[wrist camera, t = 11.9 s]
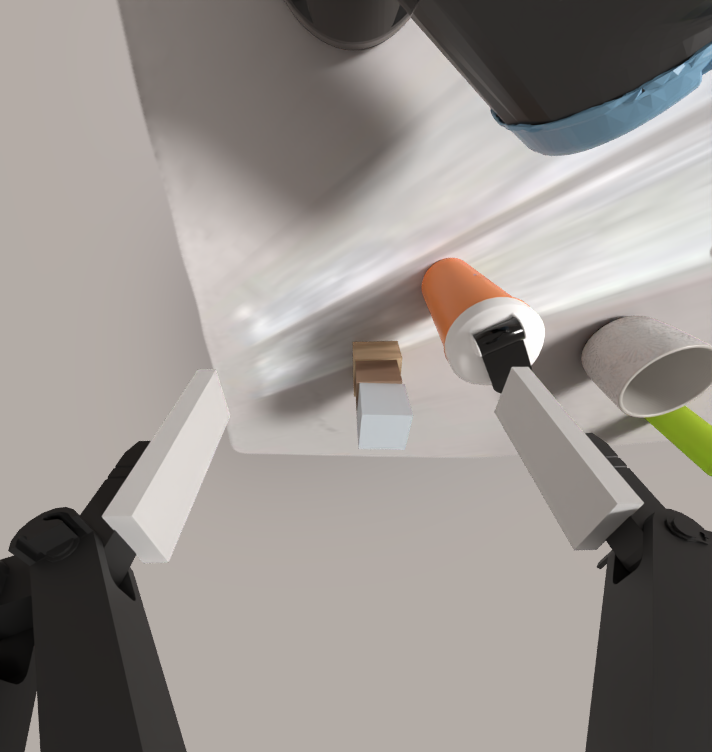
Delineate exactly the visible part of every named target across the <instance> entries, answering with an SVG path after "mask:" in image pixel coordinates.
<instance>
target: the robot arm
mask: <svg viewBox="0 0 712 752" xmlns="http://www.w3.org/2000/svg"><path fill="white" fill-rule="evenodd" d="M285 2H286V4H287V5H288V7H289V8H290V10H291V11H292V13H293V14H294V15H295V17H296V18H297V19H298V20H299V21H300V23H301V24H302V25H303V26H304V27H305V28H306V29H307V30H308V31H310V32H311V33H312V34H313V35H314V36H316V37H317V38H319V39H320V40H322V41H324V42H325V43H327V44H329V45H332V46H334V47H338V48H342V49H348V50H360V49H366V48H370V47H373V46H376V45H378V44H380V43H382V42H384V41H385V40H387V39H388V38H390V37H391V36H393V35H394V34H395V33H396V32H397V31H399V30H400V29H401V28H402V27H403V26H404V25H405V23H406V22H407V21H408V20H409V19H410V17H411V18H412V19H413V21H414V22H415V23H416V24H417V25H418V26H419V27H420V28H421V30H422V31H423V32H424V33H425V34H426V35H427V36H428V37H429V39H430V40H431V41H432V42H433V43H434V44H435V45H436V47H437V48H438V49H439V50H440V51H441V52H442V53H443V54H444V56H445V57H446V58H447V59H448V60H449V61H450V62H451V63H452V65H453V66H454V67H455V68H456V69H457V70H458V71H459V73H460V74H461V75H462V76H463V77H464V78H465V79H466V80H467V82H468V83H469V84H470V85H471V86H472V87H473V88H474V89H475V91H476V92H477V93H478V94H479V95H480V96H481V97H482V99H483V100H484V101H485V102H486V103H487V104H488V105H489V106H490V108H491V114H492V116H493V117H494V119H495V120H496V121H497V123H498V124H499V125H501V126H504V127H505V128H506V129H508V130H511V131H512V132H513V133H514V134H515V135H516V136H517V137H518V138H519V139H520V140H521V141H522V142H523V143H524V144H525V145H526V146H527V147H528V148H529V149H531V150H533V151H536V152H538V153H541V154H543V155H549V156H561V155H569V154H574V153H579V152H582V151H586V150H589V149H592V148H594V147H597V146H600V145H602V144H604V143H607V142H609V141H611V140H614V139H616V138H618V137H620V136H622V135H624V134H626V133H628V132H630V131H632V130H634V129H636V128H637V127H639V126H641V125H643V124H644V123H646V122H648V121H649V120H651V119H653V118H654V117H656V116H658V115H659V114H661V113H662V112H664V111H665V110H667V109H668V108H670V107H671V106H673V105H674V104H676V103H677V102H679V101H680V100H681V99H683V98H684V97H685V96H687V95H688V94H689V93H691V92H692V91H693V90H695V89H696V88H698V86H699V85H700V83H701V81H702V75H703V74H705V73H707V72H708V71H710V70H712V0H285ZM495 414H496V416H497V417H498V419H499V421H500V422H501V424H502V426H503V428H504V429H505V431H506V433H507V435H508V436H509V438H510V440H511V442H512V443H513V445H514V447H515V449H516V450H517V452H518V454H519V455H520V457H521V459H522V461H523V462H524V464H525V466H526V468H527V469H528V471H529V473H530V474H531V476H532V478H533V480H534V482H535V483H536V485H537V487H538V488H539V490H540V492H541V494H542V495H543V497H544V499H545V501H546V502H547V504H548V505H549V507H550V509H551V511H552V513H553V515H554V516H555V518H556V519H557V521H558V523H559V525H560V527H561V528H562V530H563V532H564V534H565V535H566V537H567V539H568V541H569V542H570V544H571V546H572V547H573V549H574V550H596V549H598V548H599V547H600V546H601V545H602V543H604V542H605V541H607V542H608V544H609V545H610V547H611V548H612V551H611V552H610V553H609V554H608V555H606V556H605V557H604V558H603V559H602V560H601V561H600V562H599V563H598V565H597V568H599V569H601V568H603V567H604V566H605V565H606V564H607V570H606V578H605V588H604V596H603V605H602V613H601V622H600V630H599V640H598V647H597V648H598V649H597V657H596V665H595V673H594V683H593V691H592V700H591V708H590V717H589V725H588V734H587V742H586V751H585V752H712V532H710V531H706V530H704V528H702V527H701V526H700V525H699V524H698V523H697V522H695V521H694V520H693V519H691V518H689V517H688V516H686V515H684V514H682V513H680V512H677V511H674V510H672V509H666V508H665V507H664V506H663V505H662V504H661V503H660V502H659V501H658V500H657V499H656V498H655V497H654V495H653V494H652V493H651V492H650V491H649V490H648V489H647V488H646V486H645V485H644V484H643V483H642V482H641V481H640V480H639V479H638V478H637V476H636V475H635V474H634V473H633V472H632V471H631V470H630V469H629V468H627V465H626V464H625V463H624V462H623V461H622V460H621V459H620V458H618V455H617V454H616V453H615V452H614V451H613V450H612V449H611V448H610V446H609V445H608V444H607V443H605V442H604V441H603V440H601V439H600V438H598V437H597V436H596V435H594V434H593V433H584V432H583V431H582V429H581V428H580V427H579V426H578V425H577V424H576V422H575V421H574V420H573V419H572V418H571V416H570V415H569V414H568V413H567V412H566V411H565V409H564V408H563V407H562V406H561V405H560V404H559V402H558V401H557V400H556V399H555V398H554V396H553V395H552V394H551V393H550V392H549V391H548V389H547V388H546V387H545V386H544V385H543V384H542V382H541V381H540V380H539V379H538V378H537V376H536V375H535V374H534V373H533V372H532V371H531V369H530V368H529V367H512V368H511V370H510V373H509V375H508V378H507V381H506V383H505V386H504V388H503V391H502V394H501V396H500V399H499V401H498V404H497V407H496V409H495ZM229 417H230V413H229V409H228V406H227V403H226V400H225V397H224V394H223V390H222V387H221V384H220V381H219V378H218V374H217V371H216V369H198V370H197V372H196V373H195V375H194V376H193V378H192V379H191V381H190V382H189V384H188V385H187V387H186V388H185V390H184V391H183V393H182V394H181V396H180V398H179V399H178V401H177V402H176V404H175V405H174V407H173V408H172V410H171V411H170V413H169V414H168V416H167V418H166V419H165V420H164V422H163V423H162V425H161V427H160V428H159V430H158V431H157V433H156V434H155V436H154V437H153V439H152V440H151V441H139V442H137V443H136V444H135V445H134V446H132V447H131V448H130V449H129V450H128V451H126V452H125V453H124V455H123V456H122V458H121V459H120V460H119V462H118V463H117V465H116V468H114V469H113V470H112V472H111V473H110V474H109V476H108V479H107V480H105V481H104V483H103V484H102V485H101V487H100V488H99V490H98V491H97V493H96V494H95V495H94V497H93V498H92V500H91V501H90V502H89V504H88V505H87V506H86V508H85V509H84V511H83V512H82V513H81V515H79V514H78V513H77V512H76V511H75V510H74V509H71V508H67V507H63V508H55V509H52V510H50V511H47V512H44V513H42V514H40V515H39V516H37V517H35V518H34V519H32V520H31V521H29V522H28V523H27V524H26V525H25V526H23V527H22V528H21V529H20V530H19V531H18V532H17V534H16V535H15V536H14V538H13V539H12V541H11V543H10V547H9V550H8V551H9V552H11V553H12V554H13V555H14V556H11V557H8V558H5V559H2V560H0V752H24V751H25V746H26V741H27V736H28V731H29V726H30V722H31V717H32V712H33V707H34V701H35V697H36V692H37V696H38V697H37V698H38V715H39V733H40V749H41V750H40V751H41V752H187V751H186V748H185V745H184V741H183V738H182V735H181V731H180V728H179V725H178V721H177V718H176V714H175V711H174V708H173V705H172V701H171V698H170V694H169V691H168V687H167V684H166V681H165V677H164V674H163V671H162V667H161V664H160V661H159V657H158V654H157V650H156V647H155V644H154V640H153V637H152V634H151V630H150V627H149V624H148V621H147V617H146V614H145V611H144V607H143V603H142V600H141V597H140V593H139V590H138V587H137V583H136V580H135V577H134V573H133V571H132V570H131V568H130V566H131V564H132V562H133V560H134V558H135V556H137V557H138V558H139V559H140V560H141V561H142V562H143V563H168V562H169V560H170V558H171V555H172V553H173V550H174V548H175V546H176V543H177V541H178V539H179V536H180V534H181V531H182V529H183V527H184V524H185V522H186V520H187V517H188V515H189V512H190V510H191V507H192V505H193V503H194V500H195V498H196V496H197V493H198V491H199V489H200V486H201V484H202V481H203V479H204V477H205V474H206V472H207V470H208V467H209V465H210V463H211V460H212V458H213V455H214V453H215V451H216V448H217V446H218V443H219V441H220V439H221V436H222V434H223V432H224V429H225V427H226V425H227V422H228V420H229Z"/></svg>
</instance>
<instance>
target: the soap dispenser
mask: <svg viewBox="0 0 712 752" xmlns="http://www.w3.org/2000/svg"><path fill="white" fill-rule="evenodd" d="M644 418H645V419H646V420H647V421H648V422H649V423H650V424H652V425H653V426H654V427H655V428H656V429H657V430H658V431H659V432H661V433H662V434H663V435H664V436H665V437H666V438H667V439H668V440H669V441H671V442H672V443H673V444H674V445H675V446H676V447H677V448H678V449H680V450H681V451H682V452H683V453H684V454H685V455H686V456H687V457H689V458H690V459H691V460H692V461H693V462H694V463H695V464H697V465H698V466H699V467H700V468H701V469H702V470H703V471H704V472H705V473H707V474H708V475H709V476H712V426H711V425H710V424H708V423H707V422H706V421H704V420H703V419H702V418H700V417H699V416H698V415H696V414H695V413H694V412H693V411H691V410H690V409H689V408H687V407H686V406H683V407H681V408H679V409H676V410H674V411H672V412H669V413H666V414H662V415H659V416H654V417H644Z"/></svg>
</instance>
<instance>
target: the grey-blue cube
mask: <svg viewBox="0 0 712 752" xmlns="http://www.w3.org/2000/svg"><path fill="white" fill-rule="evenodd" d="M412 419H413V413H412V409H411V405H410V402H409V398H408V394H407V390H406V387H405V384H387V383H360V385H359V396H358V407H357V432H358V449H394V450H405V448H406V444H407V439H408V435H409V431H410V427H411V423H412Z"/></svg>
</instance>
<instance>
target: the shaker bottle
mask: <svg viewBox="0 0 712 752" xmlns="http://www.w3.org/2000/svg"><path fill="white" fill-rule="evenodd" d="M421 287H422V294H423V297H424V299H425V302H426V304H427V307H428V309H429V311H430V314H431V316H432V319H433V321H434V324H435V326H436V328H437V331H438V333H439V336H440V338H441V341H442V343H443V345H444V353H445V356H446V359H447V361H448V362H449V364H450V366H451V368H452V370H453V371H454V373H455V374H456V375H457V376H458V377H459V378H461V379H463V380H464V381H466V382H469V383H472V384H479V385H492V386H493V389H494V390H495V391H496V392H499V393H502V391H503V388H504V386H505V383H506V381H507V378H508V375H509V373H510V370H511V368H512V367H529V368H530V369H531V371H532V367H531V365H532V364H533V363H534V362H535V360H536V359H537V357H538V356H539V353H540V351H541V349H542V346H543V342H544V337H545V327H544V324H543V321H542V319H541V318H540V316H539V315H538V314H537V313H536V312H535V311H534V310H532V309H531V308H530V306H529V305H527V304H526V303H525V302H524V301H522V300H519V299H517V298H514V297H512V296H510V295H509V294H508V293H506V292H505V291H504V290H502V289H501V288H500V287H498V286H497V285H495V284H494V283H493V282H491V281H490V280H489V279H487V278H486V277H485V276H483V275H482V274H480V273H479V272H478V271H476V270H475V269H474V268H472V267H471V266H470V265H468V264H467V263H465V262H464V261H462V260H460V259H457V258H446V259H443V260H440V261H438V262H436V263H435V264H433V265H432V266H431V267H430V268H429V269H428V271H427V272H426V274H425V275H424V278H423V281H422V286H421ZM532 372H533V371H532Z"/></svg>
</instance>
